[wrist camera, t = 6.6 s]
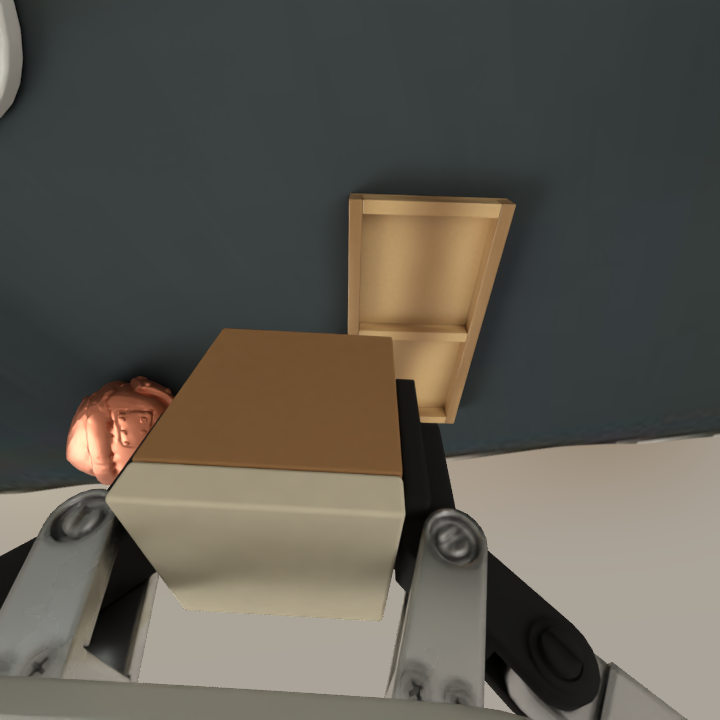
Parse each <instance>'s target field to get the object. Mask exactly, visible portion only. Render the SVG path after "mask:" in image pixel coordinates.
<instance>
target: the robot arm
mask: <svg viewBox="0 0 720 720" xmlns="http://www.w3.org/2000/svg"><path fill="white" fill-rule="evenodd" d="M22 63H23V53H22V41H21V30H20V25H19V21H18V16H17V12H16V8H15V4H14V0H0V118H1V117H2V116H3V115H4V113H5V112H6V111H7V110H8V108H9V107H10V106H11V105H12V103H13V101H14V99H15V96H16V93H17V91H18V88H19V86H20V81H21V72H22ZM396 393H397V406H398V419H399V432H400V445H401V459H402V472H403V474H402V481H403V488H404V501H405V519H404V523H403V528H402V532H401V537H400V541H399V546H398V551H397V555H396V560H395V564H394V569H395V579H396V581H397V582H398V583H399V585H400V586H401V587H402V588H403V589H404V590H405V595H404V600H403V605H402V610H401V615H400V620H399V625H398V630H397V635H396V640H395V645H394V650H393V656H392V661H391V666H390V671H389V676H388V681H387V686H386V691H385V696H384V698H376V697H360V696H344V695H329V694H314V693H298V692H283V691H282V692H281V691H267V690H251V689H234V688H218V687H217V688H216V687H201V686H184V685H167V684H151V683H138V678H139V673H140V668H141V663H142V658H143V653H144V648H145V643H146V638H147V633H148V628H149V623H150V618H151V613H152V608H153V603H154V598H155V593H156V588H157V583H158V578H159V574H158V572H157V571H156V570H155V568H154V567H153V566H152V564H151V563H150V562H149V560H148V559H147V557H146V556H145V555H144V553H143V552H142V551H141V549H140V548H139V547H138V545H137V544H136V542H135V541H134V540H133V538H132V537H131V536H130V534H129V533H128V532H127V530H126V529H125V527H124V526H123V525H122V523H121V522H120V521H119V519H118V518H117V517H116V515H115V514H114V512H113V511H112V510H111V508H110V507H109V506H108V504H107V503H106V500H105V499H106V496H107V494H108V493H109V491H110V490H111V488H112V487H113V486H114V484H115V483H116V481H117V480H118V478H119V477H120V476H121V474H122V473H123V471H124V470H125V468H126V467H127V466H128V464H130V463H132V462H133V461H132V459H133V456H134V455H135V453H136V452H137V450H138V449H139V447H140V446H141V445H142V443H143V442H144V440H145V439H146V438H147V436H148V435H149V433H150V432H151V430H152V429H153V428H154V426H155V425H156V423H157V422H158V421H159V419H160V418H161V416H162V415H163V413H164V412H165V411H166V410H165V411H164V412H163V413H162V414H161V415H160V417H159V418H158V419H157V421H156V422H155V424H154V425H153V426H152V428H151V429H150V431H149V432H148V433H147V435H146V436H145V438H144V439H143V440H142V442H141V443H140V445H139V446H138V447H137V449H136V450H135V452H134V453H133V454H132V456H131V457H130V459H129V460H128V462H127V463H126V464H125V466H124V467H123V469H122V470H121V471H120V473H119V474H118V476H117V477H116V478H115V480H114V481H113V483H112V484H111V485H110V487H109V488H108V490H105V489H92V490H88V491H85V492H81V493H79V494H77V495H75V496H73V497H71V498H69V499H68V500H66V501H65V502H64V503H62V504H61V505H59V506H58V507H57V508H56V509H55V510H54V511H53V512H52V513H51V514H50V516H49V517H48V518H47V520H46V521H45V523H44V524H43V526H42V528H41V530H40V532H39V534H38V536H37V537H35V538H34V539H32V540H30V541H28V542H26V543H24V544H22V545H20V546H19V547H17V548H15V549H13V550H11V551H9V552H7V553H5V554H4V555H2V556H0V720H687V719H686V718H685V717H683V716H682V715H681V714H679V713H678V712H677V711H676V710H674V709H673V708H672V707H670V706H669V705H668V704H666V703H665V702H664V701H662V700H661V699H660V698H658V697H657V696H656V695H654V694H653V693H652V692H651V691H649V690H648V689H647V688H645V687H644V686H643V685H642V684H640V683H639V682H638V681H636V680H635V679H634V678H632V677H631V676H630V675H628V674H627V673H626V672H625V671H623V670H622V669H621V668H619V667H618V666H617V665H615V664H614V663H613V662H611V663H609V664H607V663H606V662H604V661H603V660H602V659H601V658H599V657H598V656H597V655H595V654H594V653H593V650H592V649H591V647H590V645H589V644H588V642H587V640H586V639H585V637H584V636H583V635H582V634H581V633H580V632H579V630H577V628H575V626H574V625H573V624H572V623H571V622H569V621H568V620H567V619H566V618H565V617H564V616H563V615H561V614H560V613H559V612H558V611H557V610H556V609H555V608H553V607H552V606H551V605H550V604H549V603H548V602H546V601H545V600H544V599H543V598H542V597H541V596H539V595H538V594H537V593H536V592H535V591H534V590H533V589H531V588H530V587H529V586H528V585H527V584H526V583H525V582H523V581H522V580H521V579H520V578H519V577H518V576H517V575H515V574H514V573H513V572H512V571H511V570H510V569H508V568H507V567H506V566H505V565H504V564H503V563H502V562H500V561H499V560H498V559H497V558H496V557H495V556H493V555H492V554H491V553H490V552H489V551H488V547H487V540H486V537H485V535H484V532H483V530H482V529H481V527H480V526H479V525H478V523H477V522H476V521H475V520H474V519H473V518H471V517H470V516H469V515H468V514H466V513H464V512H462V511H459V510H457V509H456V508H455V504H454V499H453V494H452V489H451V484H450V479H449V474H448V469H447V464H446V459H445V454H444V449H443V444H442V439H441V434H440V429H439V426H438V424H437V423H422V422H420V416H419V409H418V402H417V395H416V388H415V382H414V380H410V379H396ZM484 680H485V681H486V682H487V683H488V685H489V686H490V687H491V688H492V689H493V690H494V691H495V692H496V693H497V695H498V696H499V697H500V698H501V699H502V700H503V701H504V702H505V704H507V706H508V707H509V708H510V709H511V710H512V711H513V712H514V713H515V714H512V713H508V712H504V711H500V710H494V709H487V708H484Z"/></svg>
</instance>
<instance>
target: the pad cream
mask: <svg viewBox="0 0 720 720" xmlns="http://www.w3.org/2000/svg"><path fill="white" fill-rule="evenodd" d="M132 461H133V462H132V463H130V464H128V466H127V467H126V468H125V470H124V471H123V473H122V474H121V476H120V477H119V478H118V480H117V481H116V483H115V484H114V486H113V487H112V488H111V490H110V491H109V493H108V494H107V496H106V499H105V500H106V503H107V504H108V506H109V507H110V508H111V510H112V511H113V512H114V514H115V515H116V517H117V518H118V519H119V521H120V522H121V523H122V525H123V526H124V527H125V529H126V530H127V532H128V533H129V534H130V536H131V537H132V538H133V540H134V541H135V542H136V544H137V545H138V547H139V548H140V549H141V551H142V552H143V553H144V555H145V556H146V557H147V559H148V560H149V562H150V563H151V564H152V566H153V567H154V568H155V570H156V571H157V572H158V574H159V575H160V576H161V578H162V579H163V580H164V582H165V583H166V585H167V586H168V587H169V589H170V590H171V591H172V593H173V594H174V596H175V597H176V598H177V600H178V601H179V602H180V604H181V605H182V607H183V608H184V609H185V610H190V611H191V610H192V611H208V612H226V613H243V614H260V615H278V616H295V617H312V618H330V619H347V620H366V621H380V620H382V618H383V614H384V609H385V605H386V600H387V596H388V591H389V587H390V582H391V578H392V573H393V569H394V564H395V560H396V555H397V551H398V546H399V541H400V537H401V532H402V528H403V523H404V519H405V501H404V488H403V481H402V474H403V472H402V459H401V445H400V432H399V419H398V406H397V393H396V380H395V367H394V353H393V340H392V337H385V336H366V335H346V334H327V333H308V332H288V331H269V330H249V329H230V328H224V329H223V330H222V331H221V332H220V334H219V335H218V337H217V338H216V340H215V341H214V342H213V344H212V345H211V347H210V348H209V349H208V351H207V352H206V354H205V355H204V357H203V358H202V359H201V361H200V362H199V364H198V365H197V367H196V368H195V369H194V371H193V372H192V374H191V375H190V376H189V378H188V379H187V381H186V382H185V384H184V385H183V386H182V388H181V389H180V391H179V392H178V394H177V395H176V396H175V398H174V399H173V401H172V402H171V403H170V405H169V406H168V408H167V409H166V411H165V412H164V413H163V415H162V416H161V418H160V419H159V421H158V422H157V423H156V425H155V426H154V428H153V429H152V430H151V432H150V433H149V435H148V436H147V438H146V439H145V440H144V442H143V443H142V445H141V446H140V447H139V449H138V450H137V452H136V453H135V455H134V456H133V459H132Z"/></svg>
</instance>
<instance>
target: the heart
mask: <svg viewBox="0 0 720 720" xmlns="http://www.w3.org/2000/svg"><path fill="white" fill-rule="evenodd" d="M174 398H175V396H174V395H173V394H172V393H171V390H170V389H169V388H165V387H164V386H162V385H160V384H158V383H156V382H153V381H150V380H148V378H146V377H142V376H138V377H136V378H133V379H132V380H131V382H130V383H127V382H123V381H113V382H109V383H107V384H105V385H104V386H103V387H102V388H101V389H100V390H98V391H96V392H95V393H93V394H92V395H91V396H86V397H85V398H83V399H82V400H83V401H82V403H81V404H80V406H79V408H78V410H77V412H76V414H75V416H74V418H73V420H72V423H71V427H70V430H69V433H68V438H67V445H66V457H67V460H68V461H69V462H70V463H71V464H72V465H73V466H75V467H76V468H77V469H79V470H81V471H83V472H85V473H87V474H90V475H92V476H96V477H97V479H98V480H99V481H100V482H101V483H102V484H105V485H111V484H112V483H113V481H114V480H115V478H116V477H117V476H118V474H119V473H120V471H121V470H122V469H123V467H124V466H125V464H126V463H127V462H128V460H129V459H130V457H131V456H132V454H133V453H134V452H135V450H136V449H137V447H138V446H139V445H140V443H141V442H142V440H143V439H144V438H145V436H146V435H147V433H148V432H149V431H150V429H151V428H152V426H153V425H154V424H155V422H156V421H157V419H158V418H159V417H160V415H161V414H162V413H163V412H164V411H165V410H166V409H167V408H168V406H169V405H170V403H171V402H172V401H173V399H174Z"/></svg>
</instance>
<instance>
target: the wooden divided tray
mask: <svg viewBox="0 0 720 720" xmlns="http://www.w3.org/2000/svg"><path fill="white" fill-rule="evenodd" d="M515 207H516V204H514V203H513V202H511V201H510V200H508V199H507V198H478V197H448V196H418V195H388V194H357V193H350V197H349V258H348V335H366V336H385V337H392V340H393V353H394V367H395V380H396V379H410V380H414V382H415V388H416V395H417V402H418V409H419V416H420V422H422V423H454V420H455V416H456V413H457V409H458V406H459V402H460V399H461V395H462V392H463V388H464V385H465V381H466V378H467V374H468V371H469V367H470V364H471V360H472V357H473V353H474V350H475V346H476V343H477V339H478V336H479V332H480V329H481V326H482V322H483V319H484V315H485V312H486V308H487V305H488V301H489V298H490V294H491V291H492V287H493V284H494V280H495V277H496V273H497V270H498V266H499V263H500V259H501V256H502V252H503V249H504V245H505V242H506V238H507V235H508V231H509V228H510V224H511V221H512V217H513V214H514V210H515Z"/></svg>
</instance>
